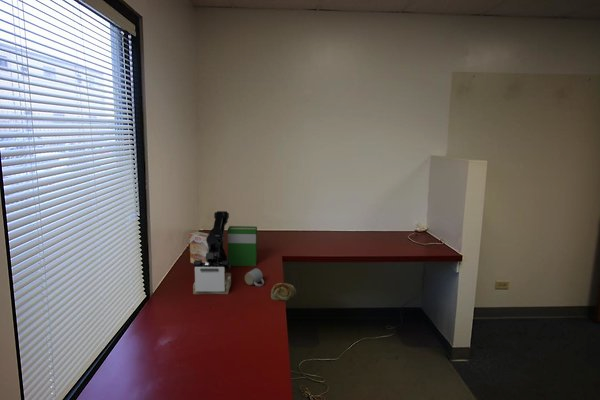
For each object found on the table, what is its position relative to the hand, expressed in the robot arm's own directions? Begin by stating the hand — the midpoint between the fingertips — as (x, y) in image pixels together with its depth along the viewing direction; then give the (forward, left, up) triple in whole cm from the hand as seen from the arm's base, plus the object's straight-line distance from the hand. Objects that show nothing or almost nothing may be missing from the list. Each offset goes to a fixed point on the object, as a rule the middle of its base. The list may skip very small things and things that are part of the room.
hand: (210, 279), depth 191 cm
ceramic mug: (+2, +26, -8) cm, 27 cm away
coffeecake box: (-44, +15, -8) cm, 47 cm away
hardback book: (-29, +36, -8) cm, 46 cm away
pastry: (+24, +30, -8) cm, 39 cm away
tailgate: (+2, -1, -6) cm, 6 cm away
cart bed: (-5, +4, -8) cm, 10 cm away
